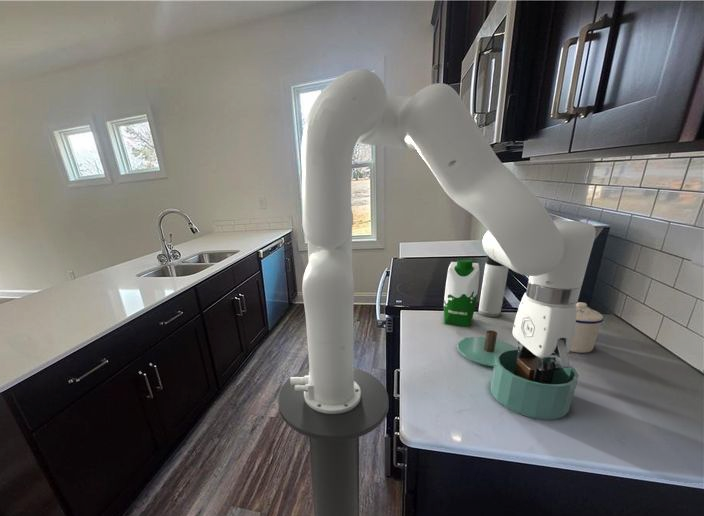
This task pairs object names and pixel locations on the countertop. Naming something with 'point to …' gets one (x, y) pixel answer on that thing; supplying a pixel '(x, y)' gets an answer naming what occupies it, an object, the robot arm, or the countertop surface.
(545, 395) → the bowl
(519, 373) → the block
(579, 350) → the teacup with lid
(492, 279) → the travel mug
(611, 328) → the countertop surface
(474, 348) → the lid
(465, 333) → the countertop surface
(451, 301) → the milk carton
